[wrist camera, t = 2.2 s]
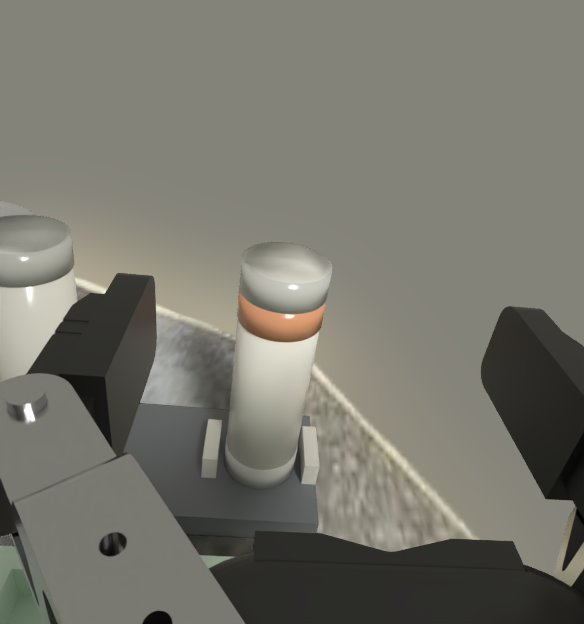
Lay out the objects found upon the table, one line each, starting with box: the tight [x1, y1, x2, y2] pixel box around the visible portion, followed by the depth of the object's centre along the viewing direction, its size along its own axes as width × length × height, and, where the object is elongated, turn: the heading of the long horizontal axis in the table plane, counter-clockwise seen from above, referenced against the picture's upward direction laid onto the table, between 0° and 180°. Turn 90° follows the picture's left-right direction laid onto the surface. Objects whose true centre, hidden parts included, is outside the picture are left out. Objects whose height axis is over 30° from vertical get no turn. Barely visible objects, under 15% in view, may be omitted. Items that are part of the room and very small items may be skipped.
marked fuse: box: [224, 242, 332, 489], centre depth 26 cm, size 4×4×13 cm
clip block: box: [123, 403, 319, 538], centre depth 29 cm, size 18×8×3 cm, turn 92°
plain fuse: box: [0, 215, 77, 383], centre depth 25 cm, size 4×4×13 cm
